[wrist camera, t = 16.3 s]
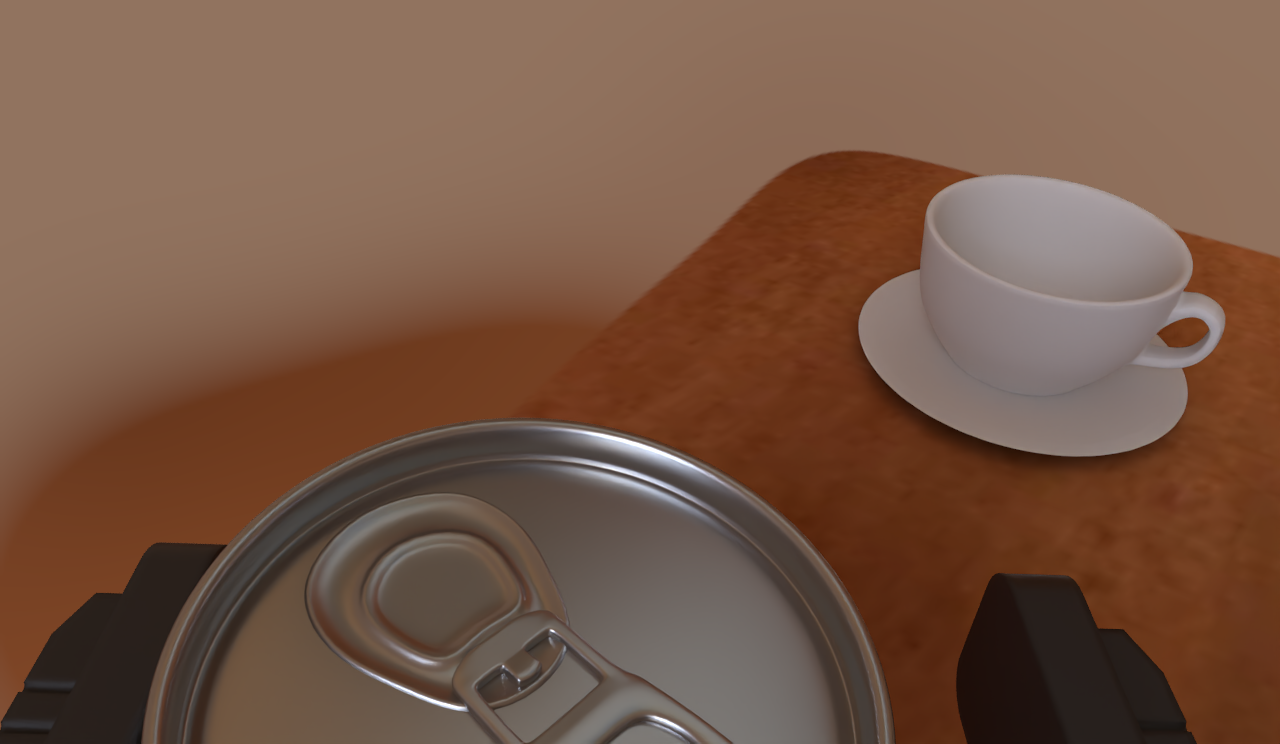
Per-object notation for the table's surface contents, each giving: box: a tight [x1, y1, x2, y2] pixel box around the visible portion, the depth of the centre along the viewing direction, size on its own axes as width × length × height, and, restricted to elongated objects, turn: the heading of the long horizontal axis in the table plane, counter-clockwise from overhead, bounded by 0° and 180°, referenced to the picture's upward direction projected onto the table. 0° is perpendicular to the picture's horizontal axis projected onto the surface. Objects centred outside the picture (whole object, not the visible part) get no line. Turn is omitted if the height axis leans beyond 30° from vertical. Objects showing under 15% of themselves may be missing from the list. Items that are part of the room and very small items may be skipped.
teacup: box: [859, 175, 1225, 456], centre depth 30 cm, size 10×10×5 cm
